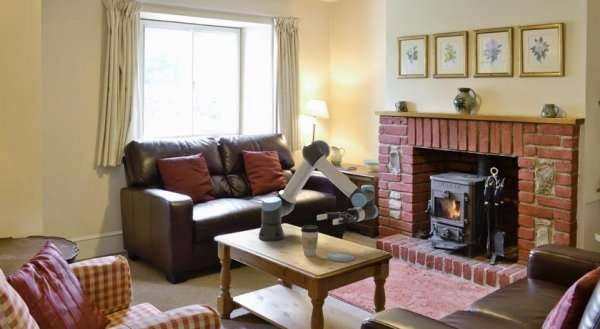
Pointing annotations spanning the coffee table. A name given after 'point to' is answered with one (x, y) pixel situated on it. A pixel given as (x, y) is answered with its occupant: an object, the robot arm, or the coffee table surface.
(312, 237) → the coffee cup
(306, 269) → the coffee table surface
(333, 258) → the saucer
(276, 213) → the robot arm
